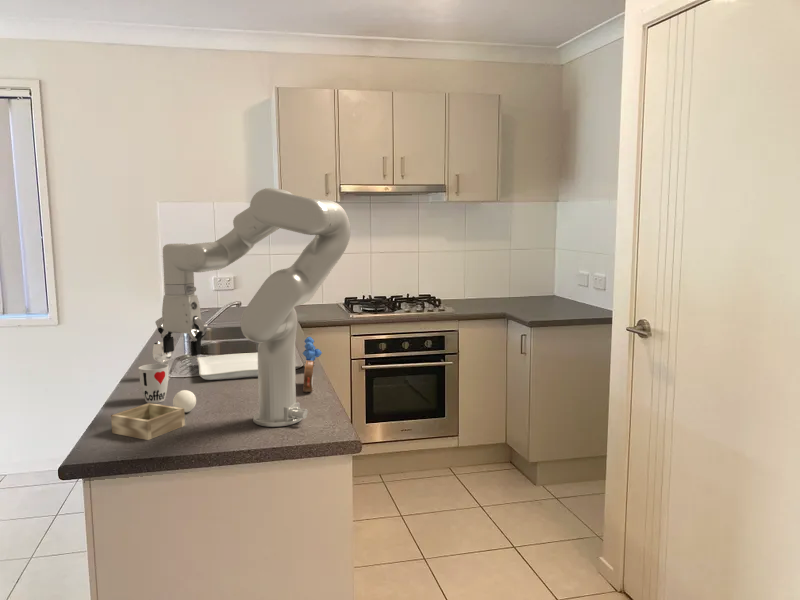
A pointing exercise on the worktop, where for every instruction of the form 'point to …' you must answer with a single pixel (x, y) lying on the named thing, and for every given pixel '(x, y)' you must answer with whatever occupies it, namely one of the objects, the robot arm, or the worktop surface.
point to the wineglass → (160, 353)
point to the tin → (308, 376)
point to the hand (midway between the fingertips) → (182, 353)
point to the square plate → (228, 366)
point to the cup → (154, 382)
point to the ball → (184, 400)
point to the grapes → (311, 350)
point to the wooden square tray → (148, 421)
